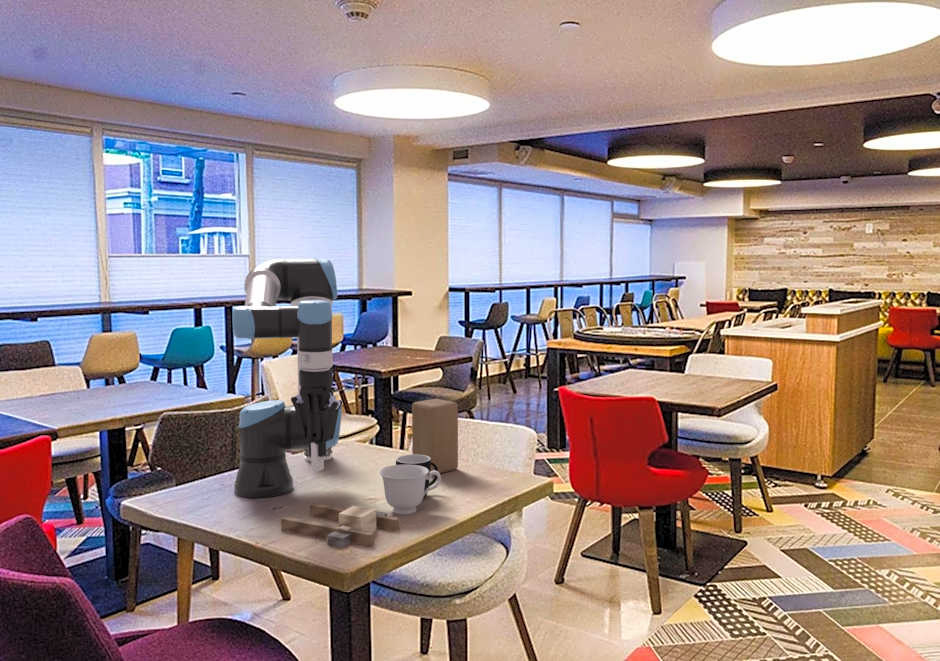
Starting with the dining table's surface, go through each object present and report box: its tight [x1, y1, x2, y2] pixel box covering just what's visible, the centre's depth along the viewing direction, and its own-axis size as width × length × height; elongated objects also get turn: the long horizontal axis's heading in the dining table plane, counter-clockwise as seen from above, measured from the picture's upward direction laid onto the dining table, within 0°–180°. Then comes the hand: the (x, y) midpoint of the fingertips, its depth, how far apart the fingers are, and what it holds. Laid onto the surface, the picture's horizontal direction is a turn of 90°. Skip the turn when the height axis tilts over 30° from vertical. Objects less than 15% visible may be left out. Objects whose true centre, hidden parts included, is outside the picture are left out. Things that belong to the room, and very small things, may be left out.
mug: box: [395, 453, 438, 500], centre depth 197 cm, size 12×9×10 cm
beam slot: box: [280, 503, 400, 548], centre depth 173 cm, size 24×18×3 cm
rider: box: [338, 505, 377, 533], centre depth 171 cm, size 6×6×5 cm
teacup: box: [379, 464, 442, 516], centre depth 185 cm, size 12×15×10 cm
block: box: [411, 398, 459, 474], centre depth 221 cm, size 10×10×20 cm
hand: (317, 469), depth 175 cm, fingers closed
